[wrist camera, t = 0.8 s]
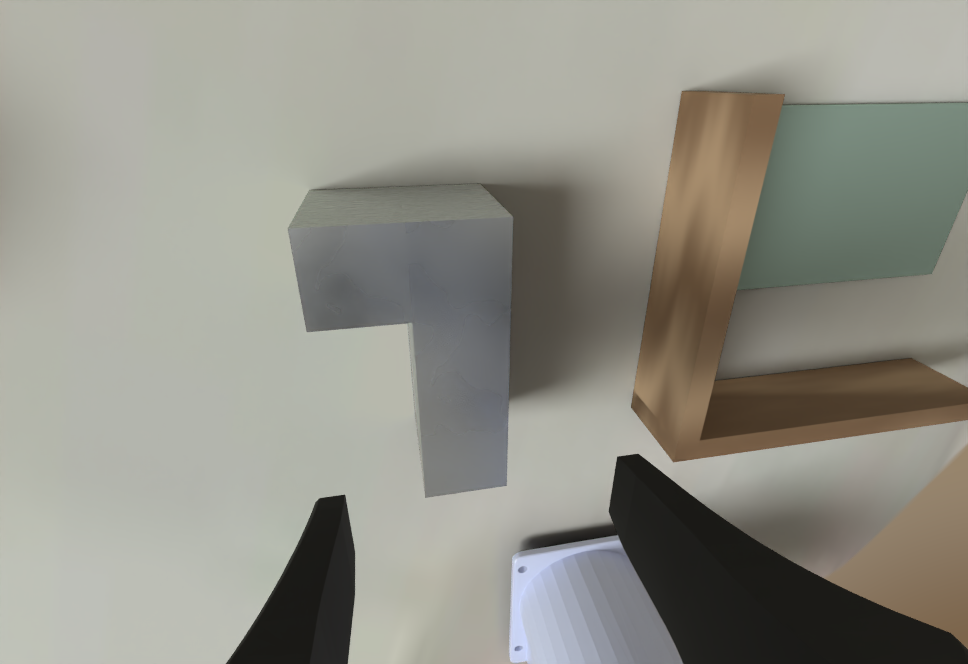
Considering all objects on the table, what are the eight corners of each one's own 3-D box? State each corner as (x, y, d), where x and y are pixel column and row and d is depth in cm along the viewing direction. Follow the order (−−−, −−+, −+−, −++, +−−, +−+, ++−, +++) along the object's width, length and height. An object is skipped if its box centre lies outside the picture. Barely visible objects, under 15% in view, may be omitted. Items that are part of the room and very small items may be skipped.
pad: (925, 271, 24) (931, 274, 24) (680, 291, 22) (684, 294, 22) (997, 101, 21) (1005, 102, 21) (716, 105, 19) (721, 106, 18)
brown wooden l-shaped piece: (904, 373, 27) (982, 417, 24) (631, 407, 25) (673, 462, 21) (1032, 88, 21) (1164, 90, 17) (682, 91, 18) (754, 94, 15)
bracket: (480, 407, 23) (506, 485, 18) (346, 423, 22) (339, 510, 17) (479, 183, 18) (513, 216, 14) (309, 190, 17) (287, 228, 13)
